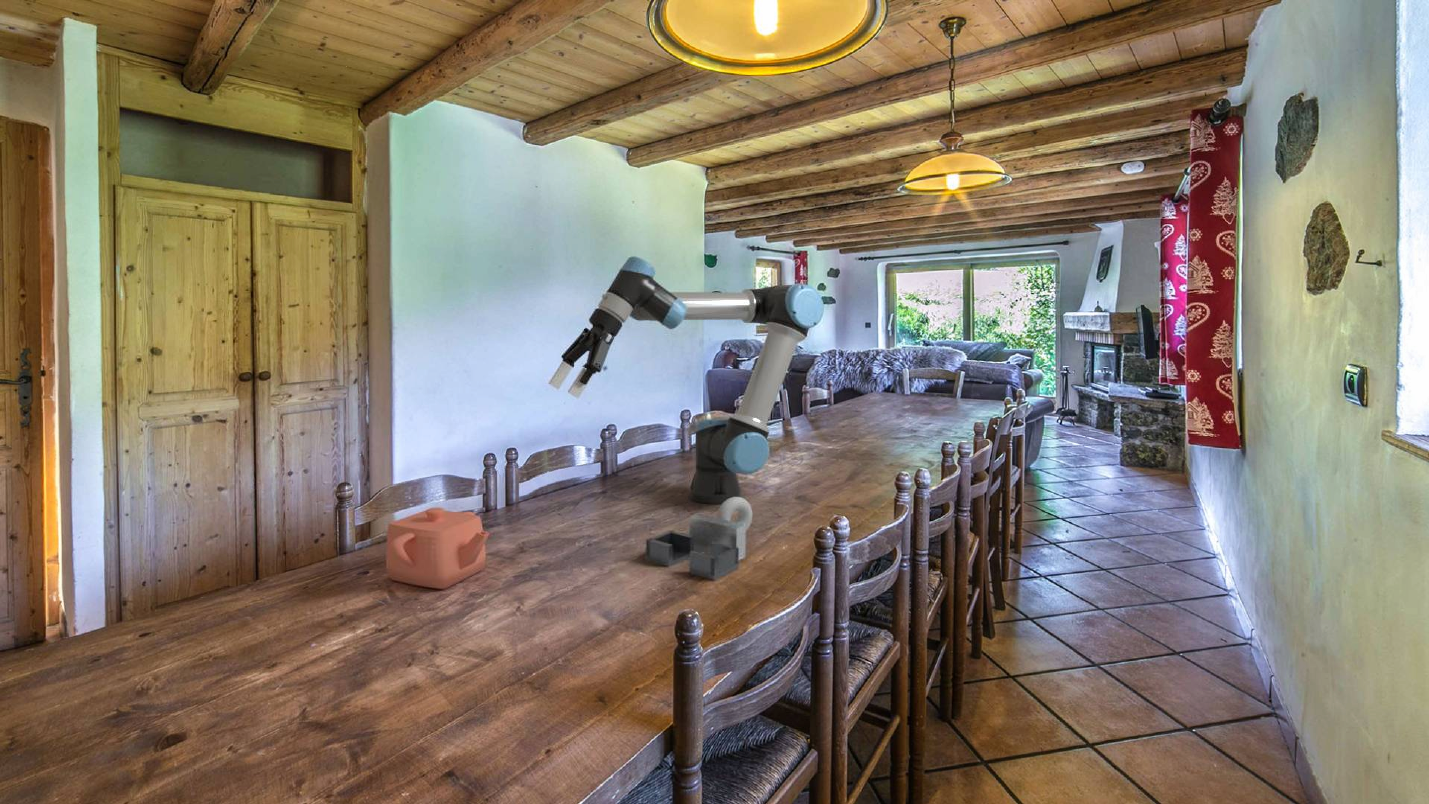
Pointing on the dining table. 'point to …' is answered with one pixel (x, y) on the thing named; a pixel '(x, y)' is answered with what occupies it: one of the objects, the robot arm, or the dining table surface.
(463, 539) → the teapot
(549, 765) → the dining table surface
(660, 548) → the end link
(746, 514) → the donut
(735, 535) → the light grey block
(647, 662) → the dining table surface
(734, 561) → the end link
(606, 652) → the dining table surface
